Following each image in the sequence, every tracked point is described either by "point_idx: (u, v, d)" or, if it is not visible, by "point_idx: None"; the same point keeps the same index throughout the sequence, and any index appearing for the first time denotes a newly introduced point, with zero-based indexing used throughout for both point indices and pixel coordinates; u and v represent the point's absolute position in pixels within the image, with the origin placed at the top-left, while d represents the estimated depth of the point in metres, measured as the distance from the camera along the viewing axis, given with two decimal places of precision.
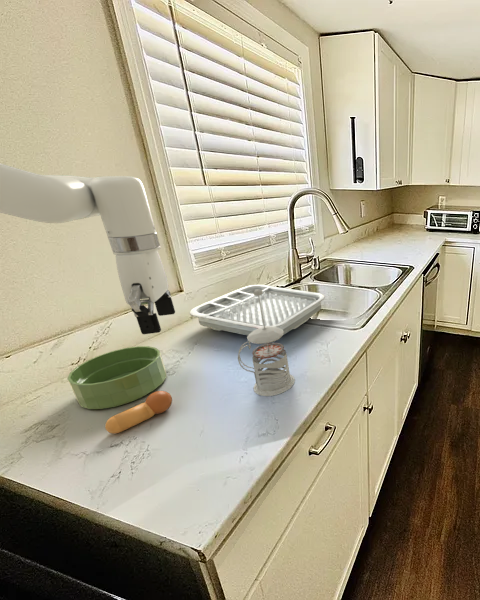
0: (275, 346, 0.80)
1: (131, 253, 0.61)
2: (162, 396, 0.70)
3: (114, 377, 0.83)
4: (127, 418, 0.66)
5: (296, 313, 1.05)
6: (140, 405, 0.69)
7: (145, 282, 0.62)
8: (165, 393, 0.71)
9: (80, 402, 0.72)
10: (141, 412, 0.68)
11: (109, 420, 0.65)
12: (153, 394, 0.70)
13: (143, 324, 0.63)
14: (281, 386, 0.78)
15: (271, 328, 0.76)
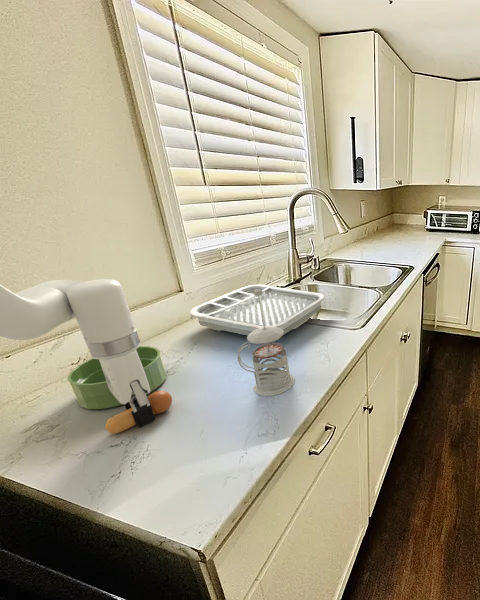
0: (275, 346, 0.80)
1: (124, 353, 0.61)
2: (162, 396, 0.70)
3: None
4: (127, 418, 0.66)
5: (296, 313, 1.05)
6: None
7: (142, 377, 0.64)
8: (165, 393, 0.71)
9: (80, 402, 0.72)
10: None
11: (109, 420, 0.65)
12: (153, 394, 0.70)
13: (141, 417, 0.66)
14: (281, 386, 0.78)
15: (271, 328, 0.76)
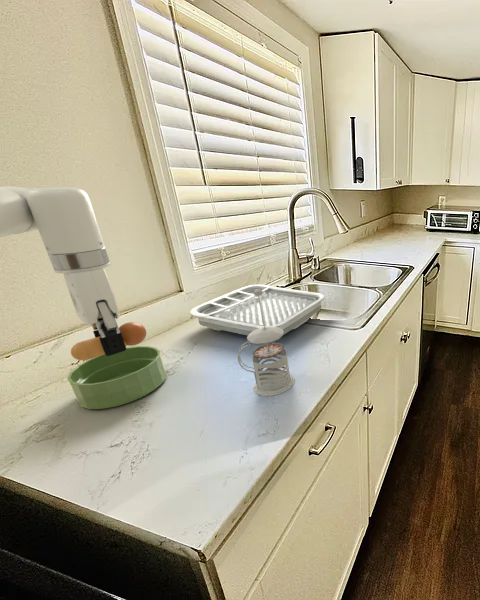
0: (275, 346, 0.80)
1: (90, 269, 0.57)
2: (135, 327, 0.66)
3: (114, 377, 0.83)
4: (95, 345, 0.61)
5: (296, 313, 1.05)
6: None
7: (111, 298, 0.59)
8: (138, 324, 0.67)
9: (80, 402, 0.72)
10: None
11: (75, 345, 0.60)
12: (125, 324, 0.66)
13: (110, 344, 0.62)
14: (281, 386, 0.78)
15: (271, 328, 0.76)
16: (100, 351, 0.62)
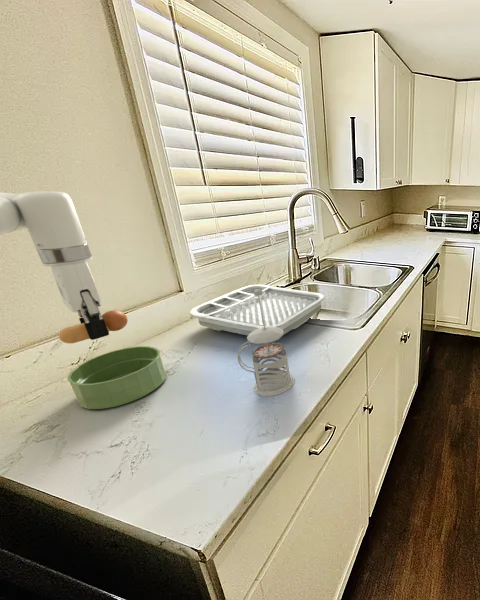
0: (275, 346, 0.80)
1: (74, 262, 0.65)
2: (117, 314, 0.74)
3: (114, 377, 0.83)
4: (80, 329, 0.70)
5: (296, 313, 1.05)
6: None
7: (93, 287, 0.67)
8: (120, 312, 0.75)
9: (80, 402, 0.72)
10: None
11: (63, 330, 0.68)
12: (108, 312, 0.74)
13: (94, 329, 0.70)
14: (281, 386, 0.78)
15: (271, 328, 0.76)
16: (85, 335, 0.70)
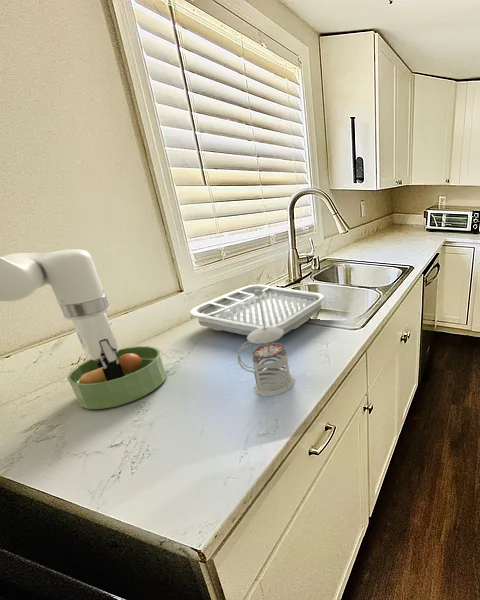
0: (275, 346, 0.80)
1: (94, 315, 0.70)
2: (132, 357, 0.79)
3: None
4: (99, 374, 0.74)
5: (296, 313, 1.05)
6: None
7: (111, 336, 0.72)
8: (135, 355, 0.80)
9: (80, 402, 0.72)
10: None
11: (82, 375, 0.73)
12: (123, 355, 0.79)
13: (111, 374, 0.75)
14: (281, 386, 0.78)
15: (271, 328, 0.76)
16: (103, 379, 0.75)
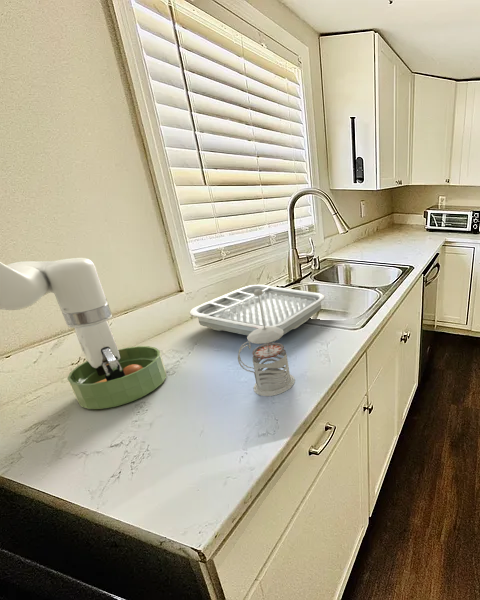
0: (275, 346, 0.80)
1: (96, 323, 0.70)
2: (137, 370, 0.80)
3: None
4: None
5: (296, 313, 1.05)
6: None
7: (113, 344, 0.73)
8: (139, 367, 0.81)
9: (80, 402, 0.72)
10: None
11: None
12: (128, 367, 0.79)
13: None
14: (281, 386, 0.78)
15: (271, 328, 0.76)
16: None
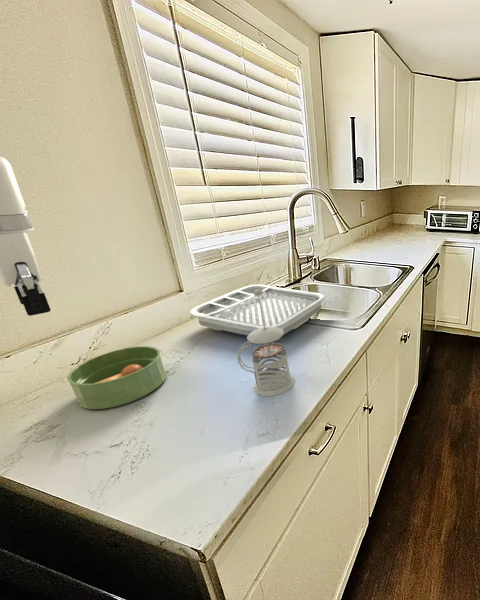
0: (275, 346, 0.80)
1: (9, 232, 0.60)
2: (137, 370, 0.80)
3: None
4: None
5: (296, 313, 1.05)
6: (116, 376, 0.78)
7: (31, 261, 0.63)
8: (139, 367, 0.81)
9: (80, 402, 0.72)
10: None
11: None
12: (128, 367, 0.79)
13: (32, 304, 0.63)
14: (281, 386, 0.78)
15: (271, 328, 0.76)
16: None
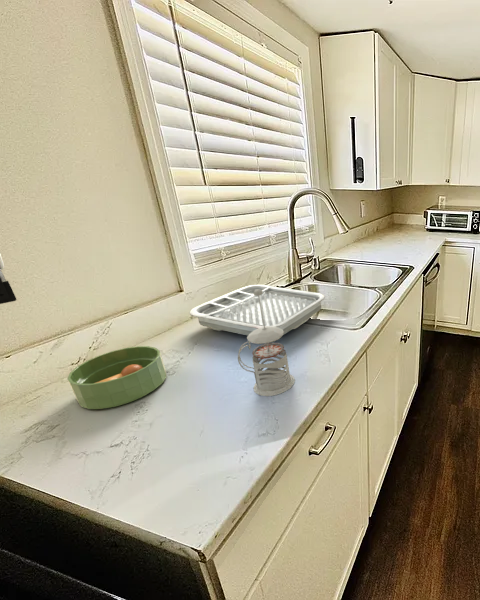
0: (275, 346, 0.80)
1: None
2: (137, 370, 0.80)
3: None
4: None
5: (296, 313, 1.05)
6: (116, 376, 0.78)
7: None
8: (139, 367, 0.81)
9: (80, 402, 0.72)
10: None
11: None
12: (128, 367, 0.79)
13: None
14: (281, 386, 0.78)
15: (271, 328, 0.76)
16: None
